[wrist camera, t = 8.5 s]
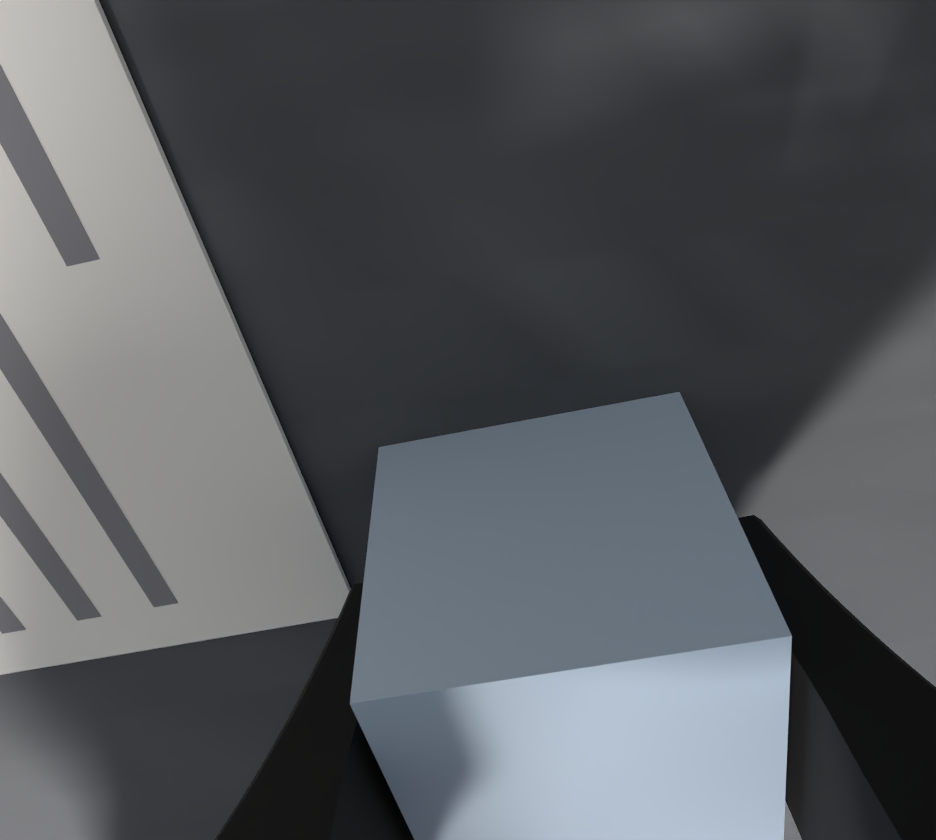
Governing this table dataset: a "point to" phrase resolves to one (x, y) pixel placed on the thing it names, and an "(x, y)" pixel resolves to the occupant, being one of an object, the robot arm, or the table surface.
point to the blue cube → (571, 636)
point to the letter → (126, 384)
